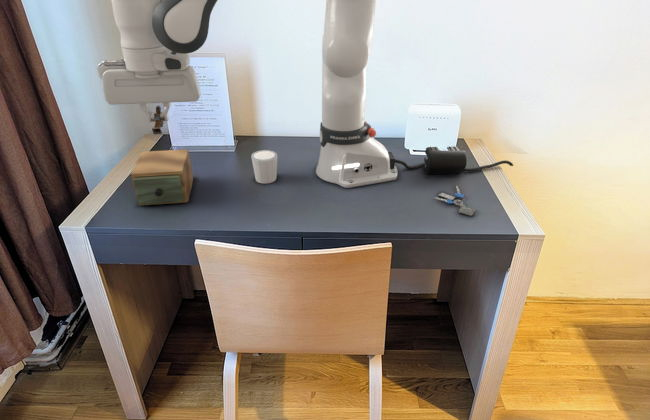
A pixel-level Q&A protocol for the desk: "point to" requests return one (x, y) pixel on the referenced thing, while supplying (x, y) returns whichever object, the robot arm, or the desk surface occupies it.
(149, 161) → the cabinet
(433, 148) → the black cylinder
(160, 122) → the wooden post with brackets
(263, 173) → the white cup
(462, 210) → the key chain
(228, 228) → the desk surface
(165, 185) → the drawer
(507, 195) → the desk surface
